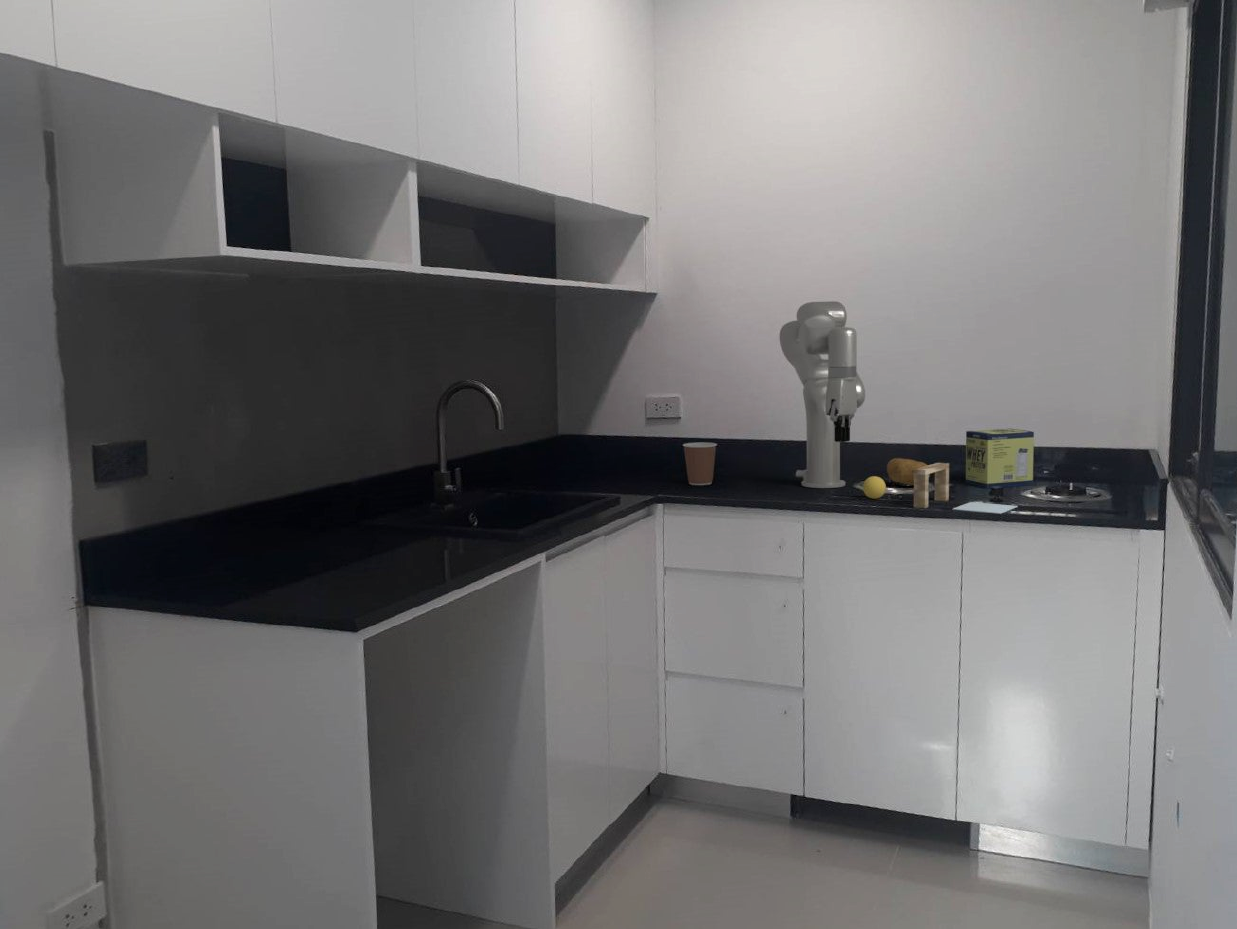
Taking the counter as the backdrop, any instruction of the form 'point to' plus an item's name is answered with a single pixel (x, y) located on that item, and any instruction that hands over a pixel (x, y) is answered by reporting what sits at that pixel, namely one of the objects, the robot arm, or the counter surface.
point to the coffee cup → (700, 462)
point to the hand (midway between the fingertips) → (842, 440)
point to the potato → (903, 470)
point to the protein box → (999, 458)
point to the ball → (874, 487)
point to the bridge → (923, 481)
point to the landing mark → (985, 507)
